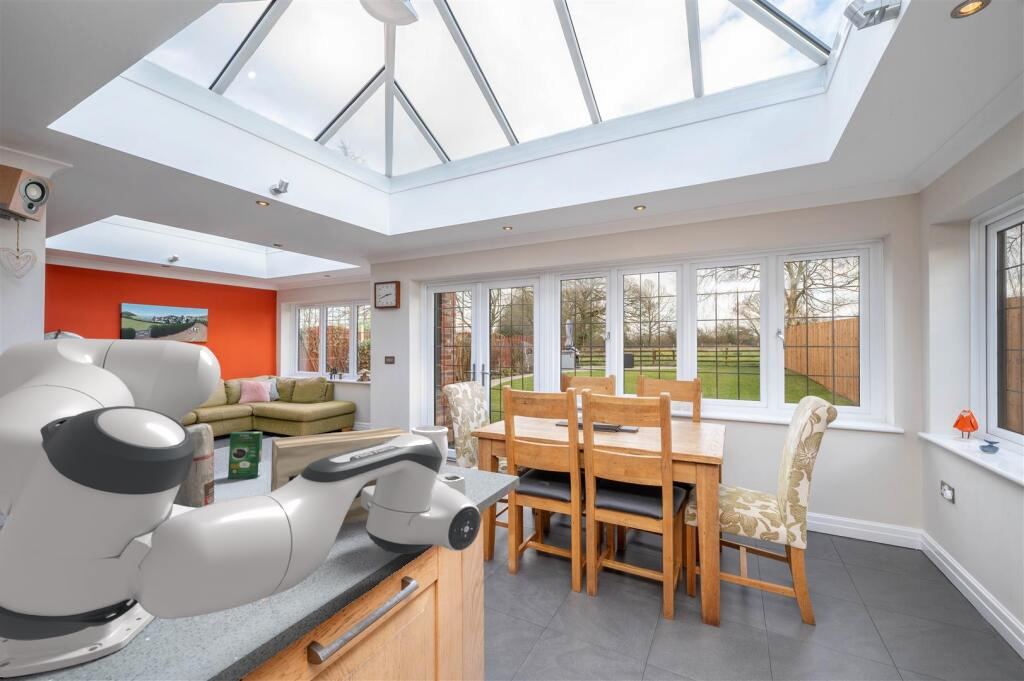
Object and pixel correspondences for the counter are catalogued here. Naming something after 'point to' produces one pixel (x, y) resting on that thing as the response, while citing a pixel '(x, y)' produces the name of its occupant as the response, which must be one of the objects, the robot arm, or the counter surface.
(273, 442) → the wooden holder box
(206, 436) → the paper wrapped package
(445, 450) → the jar
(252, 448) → the coffee box
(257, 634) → the counter surface
